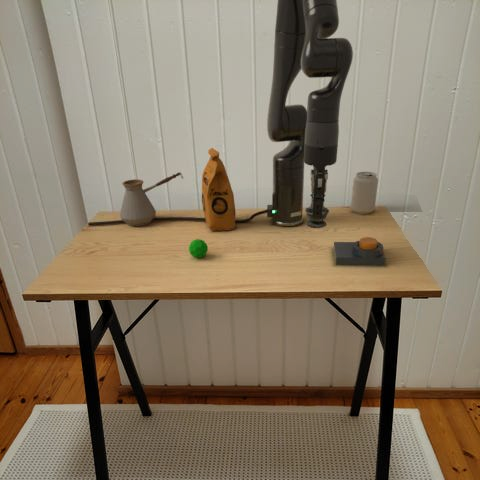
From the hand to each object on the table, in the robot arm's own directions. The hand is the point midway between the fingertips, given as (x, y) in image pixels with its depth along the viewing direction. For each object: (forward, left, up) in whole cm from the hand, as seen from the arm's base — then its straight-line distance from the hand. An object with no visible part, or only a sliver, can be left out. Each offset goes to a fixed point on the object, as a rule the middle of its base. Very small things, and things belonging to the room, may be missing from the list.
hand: (316, 212), depth 112 cm
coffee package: (-29, +24, -13) cm, 39 cm away
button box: (+11, +1, -12) cm, 17 cm away
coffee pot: (-51, +27, -13) cm, 59 cm away
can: (+16, +37, -13) cm, 42 cm away
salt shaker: (0, 0, -3) cm, 3 cm away
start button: (+13, -1, -9) cm, 16 cm away
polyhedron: (-31, 0, -13) cm, 33 cm away
